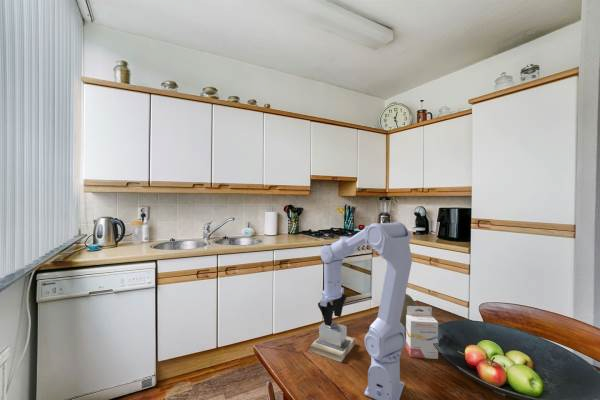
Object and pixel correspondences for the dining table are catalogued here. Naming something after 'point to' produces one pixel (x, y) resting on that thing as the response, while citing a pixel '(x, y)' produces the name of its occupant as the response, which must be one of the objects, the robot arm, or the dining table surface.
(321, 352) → the stand
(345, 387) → the dining table surface
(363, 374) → the dining table surface
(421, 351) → the ink cartridge box
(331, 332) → the housing
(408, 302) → the fruit
